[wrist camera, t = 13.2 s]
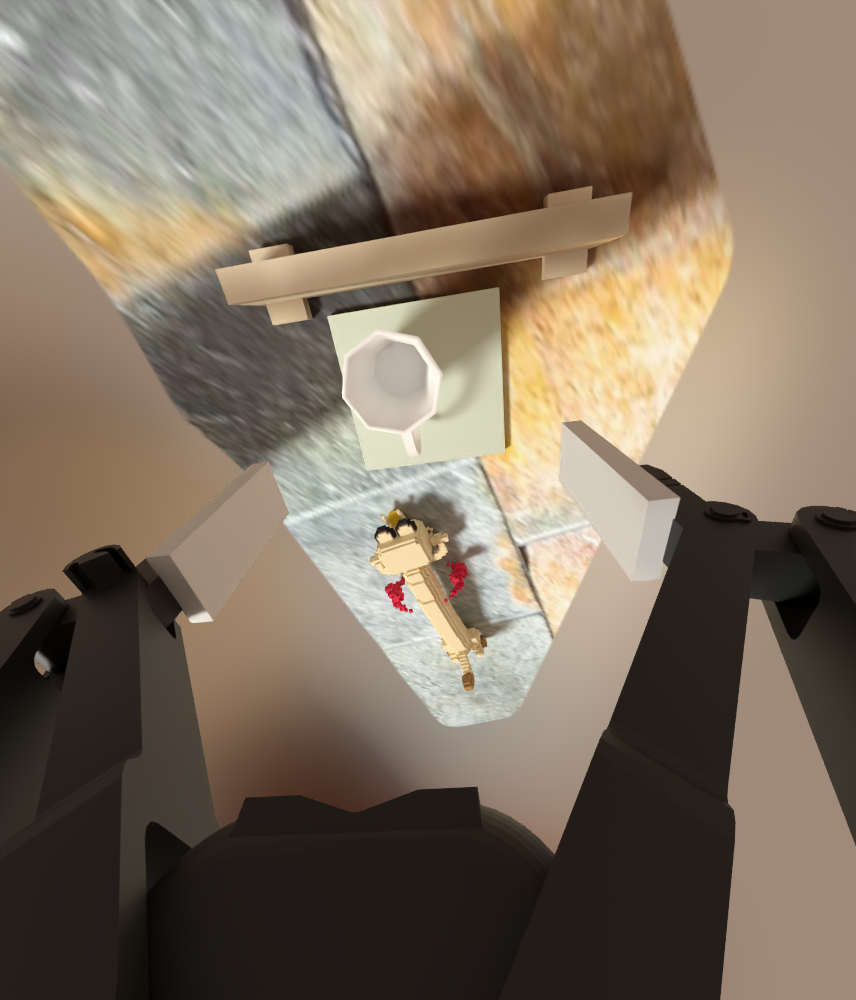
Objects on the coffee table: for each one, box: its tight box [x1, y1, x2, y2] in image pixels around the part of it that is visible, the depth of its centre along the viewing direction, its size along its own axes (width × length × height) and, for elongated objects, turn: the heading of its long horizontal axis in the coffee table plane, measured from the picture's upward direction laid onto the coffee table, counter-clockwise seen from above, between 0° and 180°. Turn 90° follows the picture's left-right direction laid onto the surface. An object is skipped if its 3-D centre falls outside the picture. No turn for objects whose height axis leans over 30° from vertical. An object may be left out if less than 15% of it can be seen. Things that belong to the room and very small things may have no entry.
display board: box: [327, 287, 505, 471], centre depth 31 cm, size 14×14×1 cm
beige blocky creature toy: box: [369, 509, 487, 691], centre depth 40 cm, size 10×9×25 cm
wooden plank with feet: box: [216, 186, 632, 325], centre depth 24 cm, size 5×26×6 cm, turn 98°
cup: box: [342, 329, 443, 457], centre depth 27 cm, size 7×10×8 cm
